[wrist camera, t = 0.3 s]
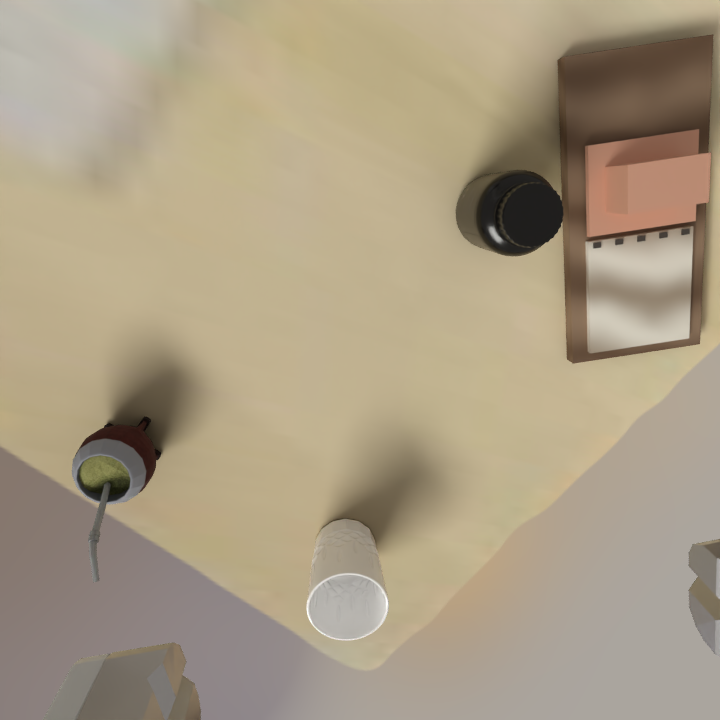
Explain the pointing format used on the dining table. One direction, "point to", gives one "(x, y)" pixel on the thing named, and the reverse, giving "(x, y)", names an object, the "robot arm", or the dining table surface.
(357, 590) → the white cup
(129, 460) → the mate gourd
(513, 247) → the supplement bottle
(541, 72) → the dining table surface
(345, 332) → the dining table surface
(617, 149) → the stub
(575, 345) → the ticket board
